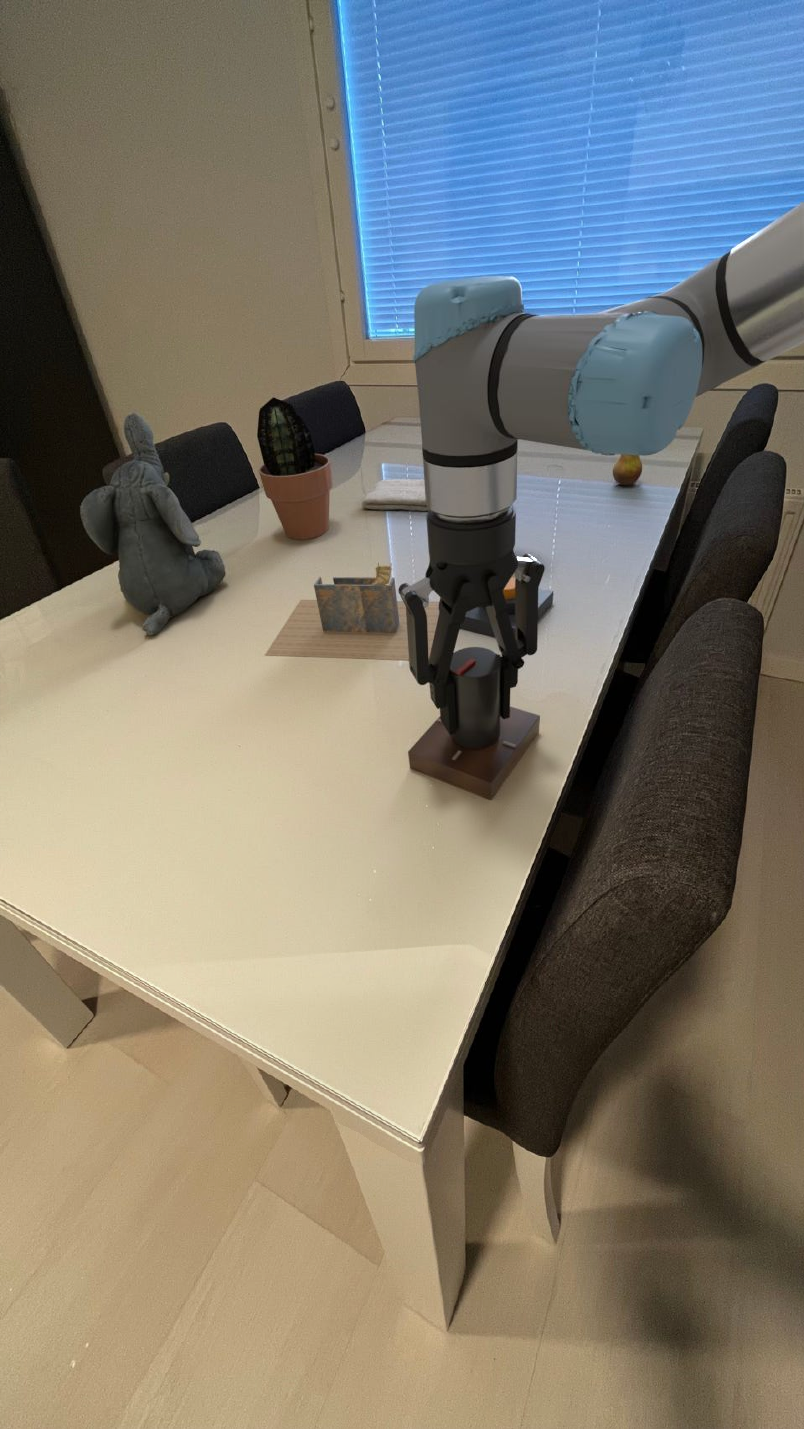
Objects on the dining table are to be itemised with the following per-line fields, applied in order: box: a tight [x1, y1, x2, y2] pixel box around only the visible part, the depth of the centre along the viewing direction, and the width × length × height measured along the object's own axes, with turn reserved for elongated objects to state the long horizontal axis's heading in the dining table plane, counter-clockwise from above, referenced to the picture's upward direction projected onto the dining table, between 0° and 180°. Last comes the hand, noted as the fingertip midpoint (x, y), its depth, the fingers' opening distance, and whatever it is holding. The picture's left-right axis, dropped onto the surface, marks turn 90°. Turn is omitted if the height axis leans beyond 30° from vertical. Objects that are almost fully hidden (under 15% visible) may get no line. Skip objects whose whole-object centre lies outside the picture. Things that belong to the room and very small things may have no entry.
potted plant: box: [256, 396, 334, 540], centre depth 115 cm, size 14×14×25 cm
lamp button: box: [503, 576, 516, 599], centre depth 87 cm, size 4×4×2 cm
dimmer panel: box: [407, 705, 541, 801], centre depth 67 cm, size 10×12×3 cm
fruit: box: [612, 454, 643, 486], centre depth 123 cm, size 6×6×12 cm
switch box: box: [460, 587, 555, 640], centre depth 88 cm, size 10×12×4 cm
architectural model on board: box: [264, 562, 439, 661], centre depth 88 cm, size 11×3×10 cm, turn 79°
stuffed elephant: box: [79, 412, 226, 637], centre depth 96 cm, size 19×21×27 cm
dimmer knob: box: [448, 646, 501, 749], centre depth 63 cm, size 5×5×10 cm
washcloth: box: [361, 478, 430, 512], centre depth 129 cm, size 12×18×3 cm, turn 74°
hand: (474, 718), depth 65 cm, fingers closed on dimmer knob, 5 cm apart
